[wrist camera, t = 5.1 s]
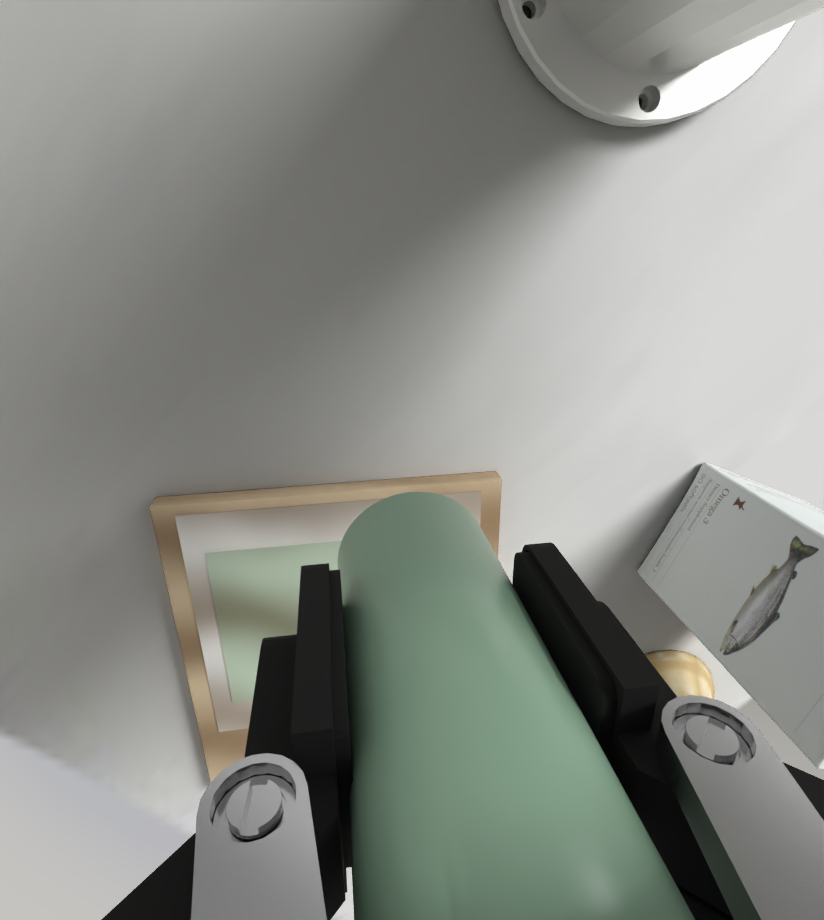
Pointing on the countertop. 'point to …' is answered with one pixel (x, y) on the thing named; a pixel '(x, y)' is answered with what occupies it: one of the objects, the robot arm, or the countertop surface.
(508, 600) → the green cylinder
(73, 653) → the countertop surface
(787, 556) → the supplement box
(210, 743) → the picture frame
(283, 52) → the countertop surface
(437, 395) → the countertop surface
